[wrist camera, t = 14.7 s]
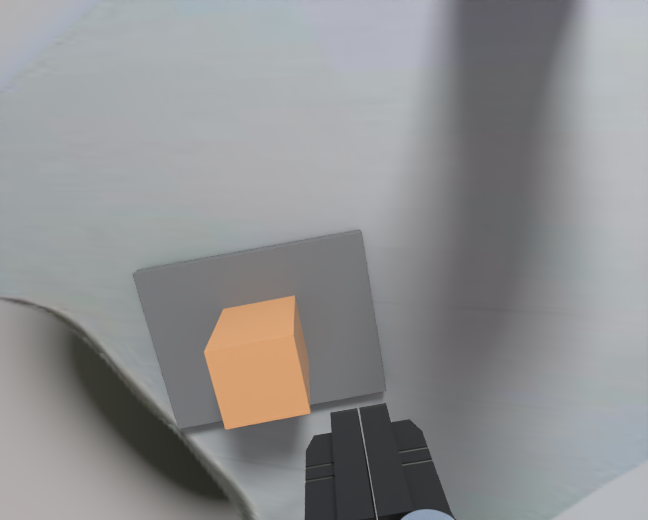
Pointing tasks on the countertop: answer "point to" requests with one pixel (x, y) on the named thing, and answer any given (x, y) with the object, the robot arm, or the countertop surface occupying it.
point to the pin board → (257, 286)
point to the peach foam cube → (259, 363)
